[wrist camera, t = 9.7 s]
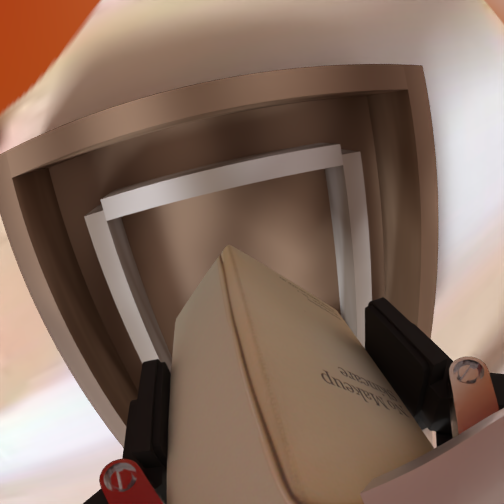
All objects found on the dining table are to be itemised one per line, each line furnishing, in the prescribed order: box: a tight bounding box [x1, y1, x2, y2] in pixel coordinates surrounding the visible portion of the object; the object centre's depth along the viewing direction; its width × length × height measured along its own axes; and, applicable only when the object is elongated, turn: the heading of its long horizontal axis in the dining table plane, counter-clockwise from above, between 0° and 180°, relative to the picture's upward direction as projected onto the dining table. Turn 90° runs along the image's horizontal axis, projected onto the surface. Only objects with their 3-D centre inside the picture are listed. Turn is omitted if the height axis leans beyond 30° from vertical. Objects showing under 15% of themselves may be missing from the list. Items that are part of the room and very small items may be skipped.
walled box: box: [0, 64, 438, 448], centre depth 17 cm, size 20×20×5 cm
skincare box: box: [167, 245, 434, 504], centre depth 8 cm, size 6×4×12 cm
